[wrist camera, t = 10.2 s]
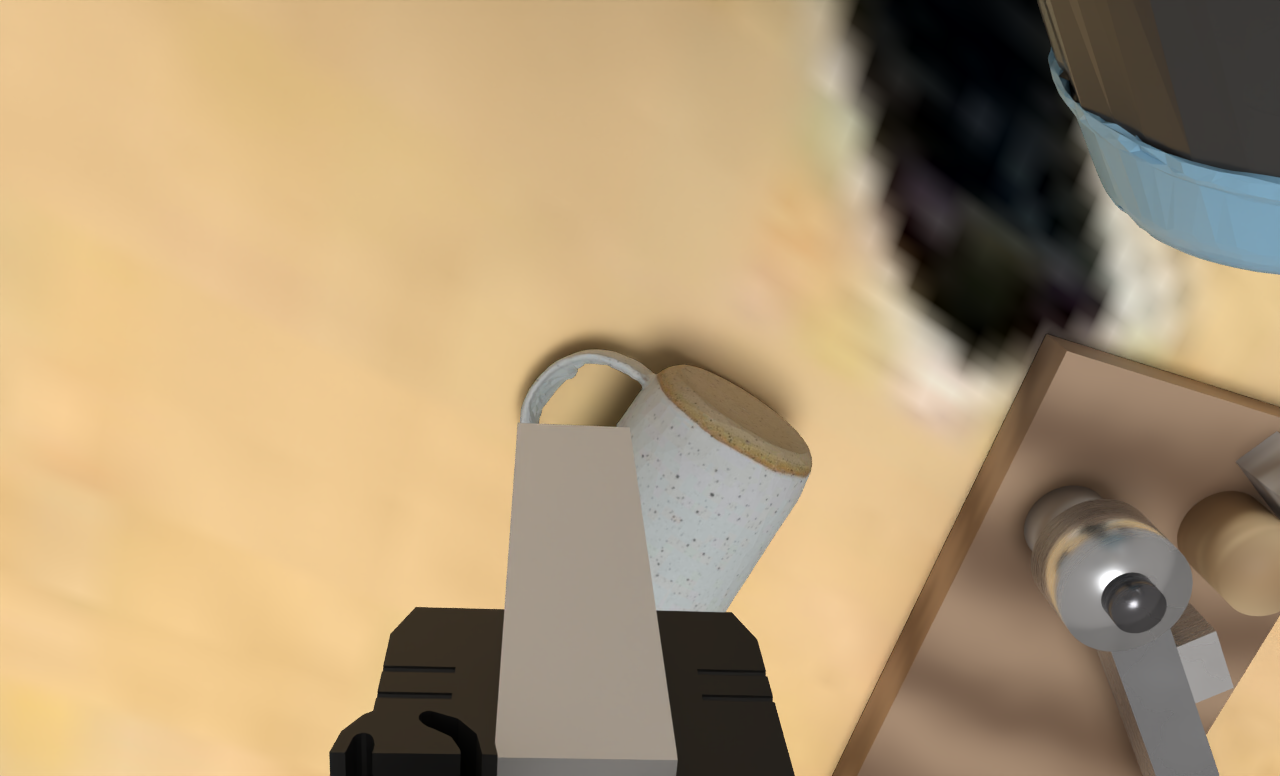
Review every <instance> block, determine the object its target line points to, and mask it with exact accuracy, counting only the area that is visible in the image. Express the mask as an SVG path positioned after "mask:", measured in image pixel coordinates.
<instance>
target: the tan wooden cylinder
mask: <svg viewBox="0 0 1280 776" xmlns="http://www.w3.org/2000/svg"><path fill="white" fill-rule="evenodd" d="M1177 544H1178V549H1179V551H1180V552H1181V553H1182V554H1183V555H1184V557H1185V558H1186V560H1187V561H1188V563H1189V564H1190V565H1191V566H1192V567H1193V568H1194V569H1195V570H1196V571H1197V572H1198V573H1199V574H1200V575H1201V576H1202V577H1203V578H1204V579H1205V580H1206V581H1207V582H1208V583H1209V584H1210V585H1211V586H1212V587H1213V588H1214V589H1215V590H1216V591H1217V592H1218V593H1219V594H1220V595H1221V596H1222V597H1223V598H1224V599H1225V600H1226V601H1227V602H1228V603H1229V605H1230V606H1231V607H1232V608H1234V609H1235V610H1236V611H1238V612H1240V613H1243V614H1245V615H1250V616H1266V615H1271V614H1275V613H1278V612H1280V519H1279V518H1278V517H1276V516H1275V515H1274V514H1273V513H1272V512H1270V511H1269V510H1268V509H1267V508H1265V507H1264V506H1263V505H1262V504H1261V503H1259V502H1258V501H1257V500H1256V499H1255V498H1253V497H1252V496H1250V495H1248V494H1246V493H1243V492H1239V491H1224V492H1219V493H1215V494H1213V495H1210V496H1208V497H1206V498H1204V499H1202V500H1201V501H1199V502H1198V503H1197V504H1195V505H1194V506H1193V507H1192V508H1191V509H1190V510H1189V511H1188V513H1187V514H1186V515H1185V517H1184V518H1183V520H1182V522H1181V524H1180V527H1179V530H1178V534H1177Z"/></svg>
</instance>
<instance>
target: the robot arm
mask: <svg viewBox="0 0 1280 776" xmlns="http://www.w3.org/2000/svg"><path fill="white" fill-rule="evenodd" d="M1037 3H1038V6H1039V9H1040V12H1041V15H1042V19H1043V22H1044V25H1045V28H1046V31H1047V34H1048V37H1049V40H1050V44H1051V50H1050V53H1049V57H1048V61H1049V66H1050V69H1051V73H1052V77H1053V81H1054V83H1055V85H1056V87H1057V90H1058V92H1059V94H1060V96H1061V97H1062V99H1063V100H1064V101H1065V103H1066V104H1067V106H1069V108H1070V109H1071V110H1072V112H1073V113H1074V114H1075V116H1076V117H1077V120H1078V123H1079V125H1080V128H1081V131H1082V133H1083V136H1084V139H1085V141H1086V144H1087V147H1088V149H1089V152H1090V155H1091V157H1092V160H1093V163H1094V165H1095V168H1096V171H1097V173H1098V176H1099V178H1100V180H1101V182H1102V185H1103V187H1104V188H1105V190H1106V192H1107V194H1108V195H1109V196H1110V198H1111V199H1112V201H1113V202H1114V203H1115V205H1116V206H1117V207H1118V208H1120V209H1121V210H1122V211H1124V212H1125V213H1127V214H1128V215H1129V216H1130V217H1131V218H1132V219H1133V220H1134V221H1135V222H1136V224H1137V225H1138V226H1139V227H1140V228H1142V229H1144V230H1145V231H1147V232H1148V233H1149V234H1150V235H1151V236H1152V237H1154V238H1155V239H1157V240H1158V241H1160V242H1162V243H1164V244H1166V245H1169V246H1171V247H1173V248H1175V249H1177V250H1179V251H1182V252H1184V253H1186V254H1189V255H1192V256H1195V257H1197V258H1200V259H1203V260H1207V261H1210V262H1214V263H1218V264H1222V265H1226V266H1230V267H1235V268H1239V269H1245V270H1250V271H1255V272H1263V273H1271V274H1279V275H1280V0H1037ZM772 698H773V695H772V692H771V688H770V684H769V681H768V677H766V670H765V666H764V663H763V659H762V655H761V652H760V648H759V645H758V641H757V639H756V638H755V637H754V636H753V635H752V634H751V633H750V631H749V630H748V629H747V628H746V627H745V626H744V625H743V624H742V623H741V622H740V621H739V620H738V619H737V618H736V617H735V615H734V614H733V613H732V612H698V611H660V610H656V606H655V599H654V592H653V585H652V578H651V571H650V564H649V557H648V550H647V543H646V536H645V529H644V522H643V516H642V509H641V502H640V495H639V488H638V481H637V474H636V467H635V460H634V453H633V446H632V439H631V432H630V427H606V426H582V425H558V424H534V423H518V427H517V441H516V455H515V469H514V483H513V497H512V511H511V525H510V539H509V553H508V567H507V581H506V595H505V609H466V608H428V607H415V609H414V610H413V611H412V612H411V613H410V614H409V615H408V616H407V617H406V618H405V619H404V620H403V621H402V622H401V623H400V624H399V626H398V627H397V628H396V629H395V630H394V631H393V632H392V633H391V634H390V639H389V643H388V648H387V652H386V656H385V661H384V665H383V672H382V674H381V679H380V683H379V688H378V695H377V698H376V701H375V705H374V710H373V711H372V712H369V713H366V714H364V715H362V716H361V717H360V718H358V719H357V720H356V721H354V722H353V723H352V724H350V725H349V726H348V727H346V728H345V729H344V730H342V731H341V733H340V735H339V736H338V738H337V740H336V742H335V743H334V745H333V747H332V749H331V751H330V752H329V753H330V776H795V775H794V771H793V768H792V764H791V760H790V757H789V753H788V750H787V746H786V742H785V739H784V735H783V731H782V728H781V724H780V721H779V717H778V713H777V710H776V706H775V702H773V699H772Z"/></svg>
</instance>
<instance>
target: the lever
mask: <svg viewBox="0 0 1280 776" xmlns="http://www.w3.org/2000/svg"><path fill="white" fill-rule="evenodd" d="M1031 572H1032V576H1033V580H1034V582H1035V584H1036V586H1037V587H1038V589H1039V590H1040V591H1041V593H1042V594H1043V596H1044V597H1045V598H1046V600H1047V601H1048V602H1049V604H1050V605H1051V607H1052V608H1053V609H1054V611H1055V612H1056V613H1057V615H1058V616H1059V617H1060V619H1061V620H1062V622H1063V623H1064V624H1065V626H1066V627H1067V628H1068V630H1069V631H1070V633H1071V634H1072V635H1073V636H1074V637H1075V638H1076V639H1077V640H1079V641H1080V642H1081V643H1083V644H1085V645H1087V646H1088V647H1091V648H1094V649H1096V650H1097V653H1098V656H1099V658H1100V661H1101V664H1102V667H1103V669H1104V672H1105V675H1106V677H1107V680H1108V683H1109V686H1110V688H1111V691H1112V694H1113V696H1114V699H1115V702H1116V705H1117V707H1118V710H1119V713H1120V715H1121V718H1122V721H1123V724H1124V726H1125V729H1126V732H1127V734H1128V737H1129V740H1130V743H1131V745H1132V748H1133V751H1134V753H1135V756H1136V759H1137V762H1138V764H1139V767H1140V770H1141V772H1142V775H1143V776H1219V773H1218V770H1217V767H1216V764H1215V761H1214V758H1213V755H1212V752H1211V749H1210V746H1209V743H1208V740H1207V737H1206V734H1205V731H1204V728H1203V725H1202V722H1201V719H1200V716H1199V713H1198V710H1197V707H1196V704H1195V703H1198V702H1200V701H1203V700H1205V699H1208V698H1210V697H1212V696H1215V695H1217V694H1220V693H1222V692H1225V691H1227V690H1229V689H1232V688H1234V687H1233V684H1232V680H1231V677H1230V674H1229V671H1228V668H1227V664H1226V661H1225V658H1224V655H1223V652H1222V649H1221V645H1220V642H1219V639H1218V636H1217V633H1216V631H1215V629H1214V628H1213V627H1212V626H1211V625H1210V624H1209V623H1208V622H1207V621H1206V620H1205V619H1204V618H1203V617H1202V616H1201V614H1200V613H1199V612H1198V611H1197V610H1196V609H1195V608H1194V607H1193V606H1192V605H1191V604H1190V603H1189V600H1190V597H1191V593H1192V585H1193V580H1192V572H1191V568H1190V566H1189V563H1188V561H1187V560H1186V558H1185V557H1184V555H1183V554H1182V553H1181V552H1180V551H1179V550H1178V549H1177V548H1176V547H1175V546H1174V545H1173V544H1172V543H1171V542H1170V541H1169V540H1168V539H1167V538H1166V537H1165V536H1164V535H1163V534H1162V533H1161V532H1160V531H1159V530H1158V529H1157V528H1156V527H1155V526H1154V525H1153V524H1152V523H1151V522H1150V521H1149V520H1148V519H1147V518H1146V517H1145V516H1144V515H1143V514H1142V513H1141V512H1140V511H1139V510H1138V509H1136V508H1135V507H1133V506H1132V505H1130V504H1128V503H1125V502H1123V501H1119V500H1114V499H1095V500H1089V501H1085V502H1082V503H1079V504H1076V505H1074V506H1072V507H1070V508H1068V509H1066V510H1064V511H1063V512H1061V513H1060V514H1058V515H1057V516H1056V517H1055V518H1053V519H1052V520H1051V521H1050V522H1049V523H1048V524H1047V526H1046V527H1045V528H1044V529H1043V531H1042V532H1041V534H1040V535H1039V537H1038V538H1037V541H1036V543H1035V545H1034V548H1033V551H1032V556H1031Z"/></svg>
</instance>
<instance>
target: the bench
mask: <svg viewBox="0 0 1280 776" xmlns="http://www.w3.org/2000/svg"><path fill="white" fill-rule="evenodd" d="M1224 491H1239V492H1243V493H1246V494H1248V495H1250V496H1252V497H1253V498H1255V499H1256V500H1257V501H1258V502H1259V503H1261V504H1262V505H1263V506H1264V507H1265V508H1267V509H1268V510H1269V511H1270V512H1272V513H1273V514H1274V515H1275V516H1276V517H1278V518H1279V519H1280V407H1278V406H1275V405H1271V404H1268V403H1265V402H1262V401H1259V400H1255V399H1252V398H1249V397H1246V396H1243V395H1240V394H1236V393H1233V392H1230V391H1227V390H1224V389H1221V388H1217V387H1214V386H1211V385H1208V384H1205V383H1201V382H1198V381H1195V380H1192V379H1189V378H1186V377H1182V376H1179V375H1176V374H1173V373H1170V372H1166V371H1163V370H1160V369H1157V368H1154V367H1151V366H1147V365H1144V364H1141V363H1138V362H1135V361H1131V360H1128V359H1125V358H1122V357H1119V356H1116V355H1112V354H1109V353H1106V352H1103V351H1100V350H1096V349H1093V348H1090V347H1087V346H1084V345H1081V344H1077V343H1074V342H1071V341H1068V340H1065V339H1061V338H1058V337H1055V336H1052V335H1049V334H1046V336H1045V338H1044V340H1043V342H1042V344H1041V346H1040V348H1039V351H1038V353H1037V355H1036V357H1035V359H1034V361H1033V363H1032V365H1031V367H1030V369H1029V371H1028V373H1027V375H1026V377H1025V379H1024V381H1023V384H1022V386H1021V388H1020V390H1019V392H1018V394H1017V396H1016V398H1015V400H1014V402H1013V404H1012V406H1011V408H1010V410H1009V412H1008V414H1007V417H1006V419H1005V421H1004V423H1003V425H1002V427H1001V429H1000V431H999V433H998V435H997V437H996V439H995V441H994V443H993V445H992V447H991V450H990V452H989V454H988V456H987V458H986V460H985V462H984V464H983V466H982V468H981V470H980V472H979V474H978V476H977V478H976V480H975V483H974V485H973V487H972V489H971V491H970V493H969V495H968V497H967V499H966V501H965V503H964V505H963V507H962V509H961V511H960V513H959V516H958V518H957V520H956V522H955V524H954V526H953V528H952V530H951V532H950V534H949V536H948V538H947V540H946V542H945V544H944V546H943V549H942V551H941V553H940V555H939V557H938V559H937V561H936V563H935V565H934V567H933V569H932V571H931V573H930V575H929V577H928V580H927V582H926V584H925V586H924V588H923V590H922V592H921V594H920V596H919V598H918V600H917V602H916V604H915V606H914V608H913V610H912V613H911V615H910V617H909V619H908V621H907V623H906V625H905V627H904V629H903V631H902V633H901V635H900V637H899V639H898V641H897V643H896V646H895V648H894V650H893V652H892V654H891V656H890V658H889V660H888V662H887V664H886V666H885V668H884V670H883V672H882V674H881V676H880V679H879V681H878V683H877V685H876V687H875V689H874V691H873V693H872V695H871V697H870V699H869V701H868V703H867V705H866V707H865V709H864V712H863V714H862V716H861V718H860V720H859V722H858V724H857V726H856V728H855V730H854V732H853V734H852V736H851V738H850V740H849V742H848V745H847V747H846V749H845V751H844V753H843V755H842V757H841V759H840V761H839V763H838V765H837V767H836V769H835V771H834V773H833V775H832V776H1143V775H1142V772H1141V770H1140V767H1139V764H1138V762H1137V759H1136V756H1135V753H1134V751H1133V748H1132V745H1131V743H1130V740H1129V737H1128V734H1127V732H1126V729H1125V726H1124V724H1123V721H1122V718H1121V715H1120V713H1119V710H1118V707H1117V705H1116V702H1115V699H1114V696H1113V694H1112V691H1111V688H1110V686H1109V683H1108V680H1107V677H1106V675H1105V672H1104V669H1103V667H1102V664H1101V661H1100V658H1099V656H1098V653H1097V650H1096V649H1094V648H1091V647H1088V646H1087V645H1085V644H1083V643H1081V642H1080V641H1079V640H1077V639H1076V638H1075V637H1074V636H1073V635H1072V634H1071V633H1070V631H1069V630H1068V628H1067V627H1066V626H1065V624H1064V623H1063V622H1062V620H1061V619H1060V617H1059V616H1058V615H1057V613H1056V612H1055V611H1054V609H1053V608H1052V607H1051V605H1050V604H1049V602H1048V601H1047V600H1046V598H1045V597H1044V596H1043V594H1042V593H1041V591H1040V590H1039V589H1038V587H1037V586H1036V584H1035V582H1034V580H1033V576H1032V572H1031V556H1032V551H1033V548H1034V545H1035V543H1036V541H1037V538H1038V537H1039V535H1040V534H1041V532H1042V531H1043V529H1044V528H1045V527H1046V526H1047V524H1048V523H1049V522H1050V521H1051V520H1052V519H1053V518H1055V517H1056V516H1057V515H1058V514H1060V513H1061V512H1063V511H1064V510H1066V509H1068V508H1070V507H1072V506H1074V505H1076V504H1079V503H1082V502H1085V501H1089V500H1095V499H1114V500H1119V501H1123V502H1125V503H1128V504H1130V505H1132V506H1133V507H1135V508H1136V509H1138V510H1139V511H1140V512H1141V513H1142V514H1143V515H1144V516H1145V517H1146V518H1147V519H1148V520H1149V521H1150V522H1151V523H1152V524H1153V525H1154V526H1155V527H1156V528H1157V529H1158V530H1159V531H1160V532H1161V533H1162V534H1163V535H1164V536H1165V537H1166V538H1167V539H1168V540H1169V541H1170V542H1171V543H1172V544H1173V545H1174V546H1175V547H1176V548H1177V549H1178V544H1177V534H1178V530H1179V527H1180V524H1181V522H1182V520H1183V518H1184V517H1185V515H1186V514H1187V513H1188V511H1189V510H1190V509H1191V508H1192V507H1193V506H1194V505H1195V504H1197V503H1198V502H1199V501H1201V500H1202V499H1204V498H1206V497H1208V496H1210V495H1213V494H1215V493H1219V492H1224ZM1178 550H1179V549H1178ZM1189 566H1190V568H1191V572H1192V580H1193V585H1192V593H1191V597H1190V600H1189V603H1190V604H1191V605H1192V606H1193V607H1194V608H1195V609H1196V610H1197V611H1198V612H1199V613H1200V614H1201V616H1202V617H1203V618H1204V619H1205V620H1206V621H1207V622H1208V623H1209V624H1210V625H1211V626H1212V627H1213V628H1214V629H1215V631H1216V633H1217V636H1218V639H1219V642H1220V645H1221V649H1222V652H1223V655H1224V658H1225V661H1226V664H1227V668H1228V671H1229V674H1230V677H1231V680H1232V684H1233V687H1234V688H1232V689H1229V690H1227V691H1225V692H1222V693H1220V694H1217V695H1215V696H1212V697H1210V698H1208V699H1205V700H1203V701H1200V702H1198V703H1195V704H1196V707H1197V710H1198V713H1199V716H1200V719H1201V722H1202V725H1203V728H1204V731H1205V734H1207V733H1208V731H1209V729H1210V728H1211V726H1212V724H1213V723H1214V721H1215V720H1216V718H1217V716H1218V715H1219V713H1220V712H1221V710H1222V708H1223V707H1224V705H1225V703H1226V702H1227V700H1228V699H1229V697H1230V695H1231V694H1232V692H1233V690H1234V689H1235V687H1236V686H1237V684H1238V682H1239V681H1240V679H1241V677H1242V676H1243V674H1244V673H1245V671H1246V669H1247V668H1248V666H1249V664H1250V663H1251V661H1252V660H1253V658H1254V656H1255V655H1256V653H1257V652H1258V650H1259V648H1260V647H1261V645H1262V643H1263V642H1264V640H1265V639H1266V637H1267V635H1268V634H1269V632H1270V630H1271V629H1272V627H1273V626H1274V624H1275V622H1276V621H1277V619H1278V617H1279V616H1280V612H1278V613H1275V614H1271V615H1266V616H1250V615H1245V614H1243V613H1240V612H1238V611H1236V610H1235V609H1234V608H1232V607H1231V606H1230V605H1229V603H1228V602H1227V601H1226V600H1225V599H1224V598H1223V597H1222V596H1221V595H1220V594H1219V593H1218V592H1217V591H1216V590H1215V589H1214V588H1213V587H1212V586H1211V585H1210V584H1209V583H1208V582H1207V581H1206V580H1205V579H1204V578H1203V577H1202V576H1201V575H1200V574H1199V573H1198V572H1197V571H1196V570H1195V569H1194V568H1193V567H1192V566H1191V565H1190V564H1189Z"/></svg>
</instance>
